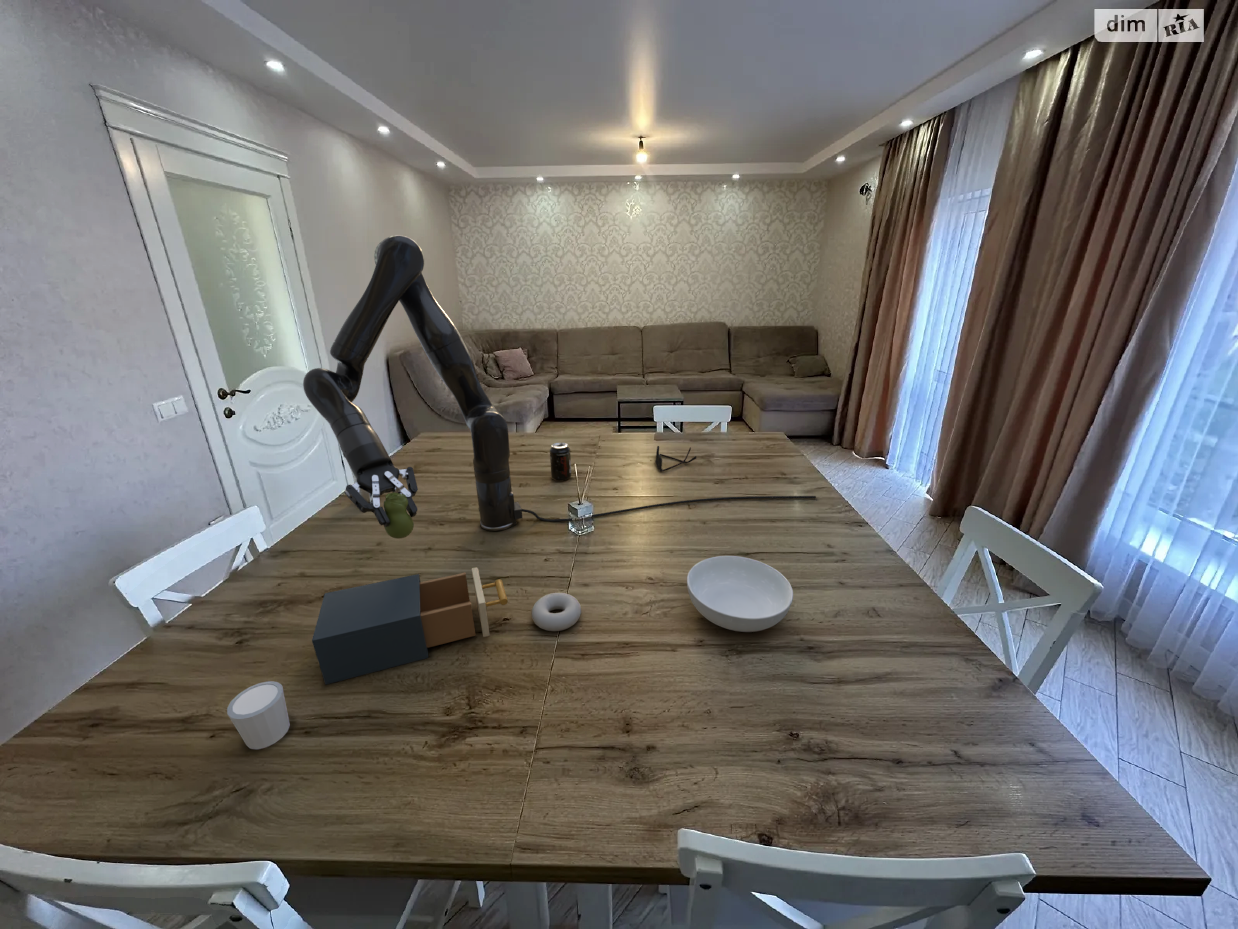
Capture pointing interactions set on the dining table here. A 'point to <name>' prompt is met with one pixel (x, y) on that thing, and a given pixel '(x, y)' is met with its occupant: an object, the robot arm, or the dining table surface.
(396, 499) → the pear
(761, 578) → the serving bowl
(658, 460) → the sunglasses
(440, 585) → the drawer
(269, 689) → the white tapered tub
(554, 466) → the beverage can
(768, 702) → the dining table surface
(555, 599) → the donut
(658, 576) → the dining table surface
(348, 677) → the cabinet
